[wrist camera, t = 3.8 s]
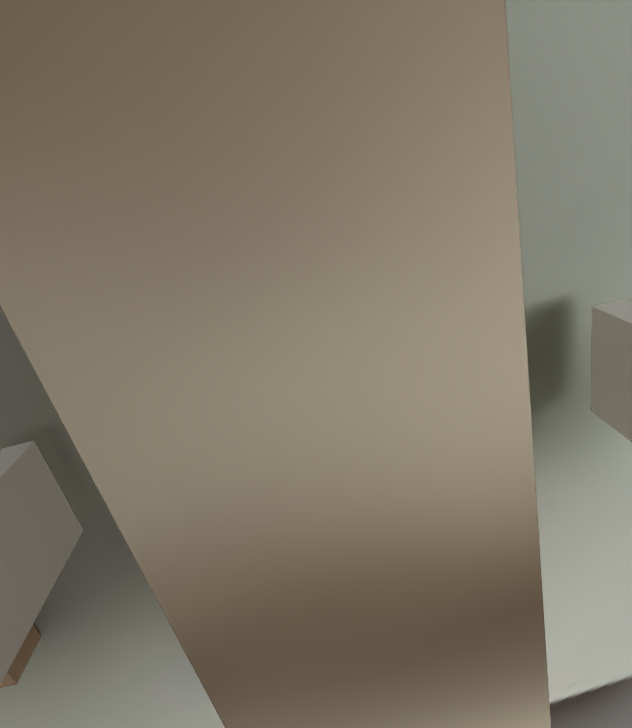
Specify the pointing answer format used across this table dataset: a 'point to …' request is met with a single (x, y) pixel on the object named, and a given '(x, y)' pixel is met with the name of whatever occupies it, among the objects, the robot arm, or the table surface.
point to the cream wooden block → (290, 338)
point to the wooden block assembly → (21, 658)
